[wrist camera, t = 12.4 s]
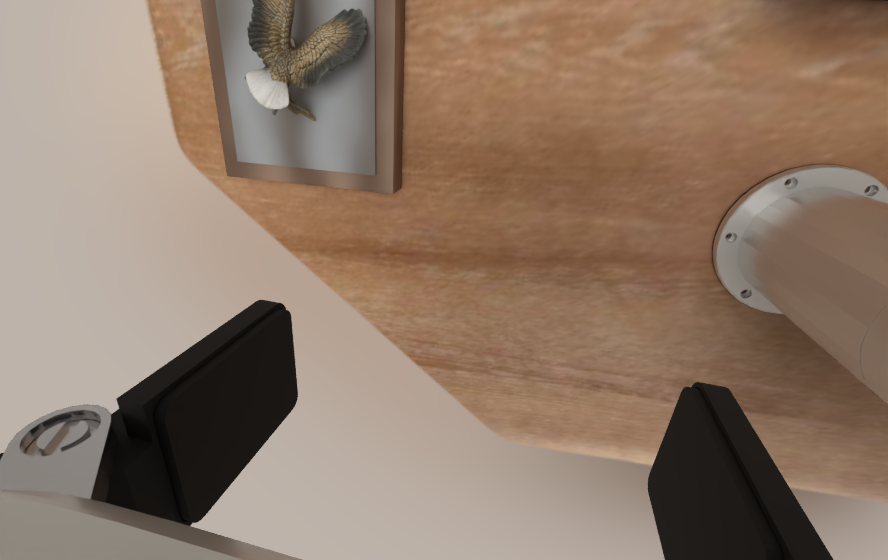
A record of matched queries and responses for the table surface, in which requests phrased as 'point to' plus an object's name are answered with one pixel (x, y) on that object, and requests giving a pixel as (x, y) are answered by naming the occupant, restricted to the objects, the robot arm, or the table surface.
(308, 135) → the picture frame
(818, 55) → the table surface
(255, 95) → the eagle figurine
